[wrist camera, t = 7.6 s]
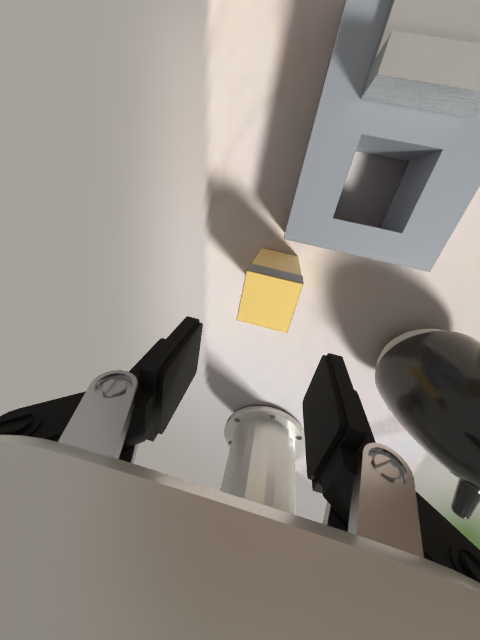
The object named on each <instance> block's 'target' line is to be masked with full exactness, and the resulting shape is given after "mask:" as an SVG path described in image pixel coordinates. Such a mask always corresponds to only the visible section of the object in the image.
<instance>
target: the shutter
mask: <svg viewBox="0 0 480 640" xmlns="http://www.w3.org/2000/svg"><path fill="white" fill-rule="evenodd" d="M361 99H365V100H371V101H376V102H382V103H388V104H394V105H400V106H405V107H411V108H417V109H423V110H428V111H434V112H440V113H446V114H451V115H457V116H463V117H469V118H475V117H477V116H479V115H480V0H393V1H392V4H391V7H390V10H389V13H388V16H387V19H386V22H385V25H384V28H383V32H382V35H381V38H380V41H379V44H378V47H377V50H376V53H375V56H374V59H373V62H372V65H371V69H370V72H369V75H368V78H367V81H366V84H365V87H364V90H363V93H362V96H361Z"/></svg>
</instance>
